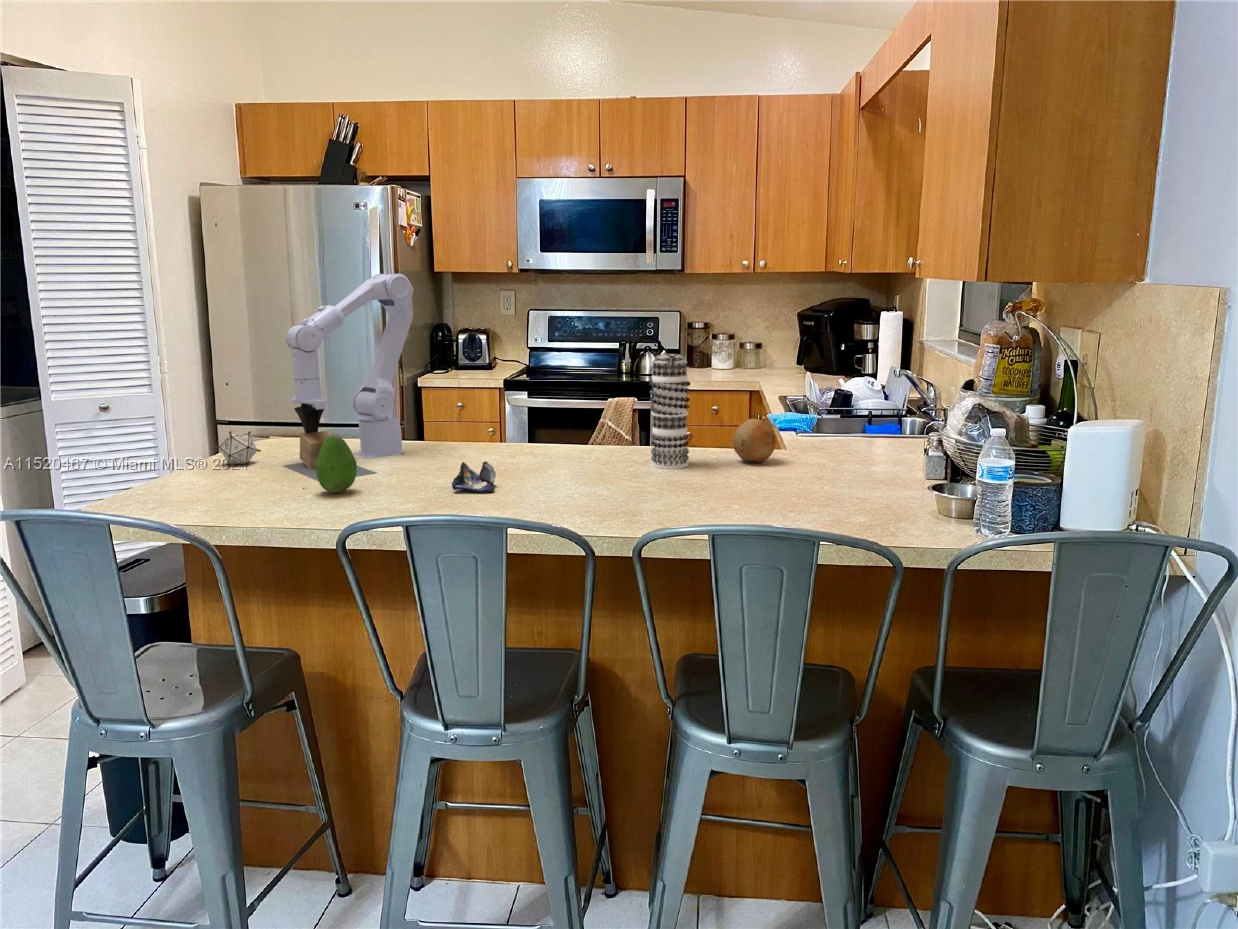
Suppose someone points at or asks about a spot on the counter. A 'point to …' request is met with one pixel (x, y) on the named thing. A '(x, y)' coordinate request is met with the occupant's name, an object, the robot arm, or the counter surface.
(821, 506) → the counter surface
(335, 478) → the avocado
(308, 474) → the mat
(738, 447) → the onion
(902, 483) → the counter surface
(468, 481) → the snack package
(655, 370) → the decorative candle
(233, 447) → the game die
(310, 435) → the letter cube
